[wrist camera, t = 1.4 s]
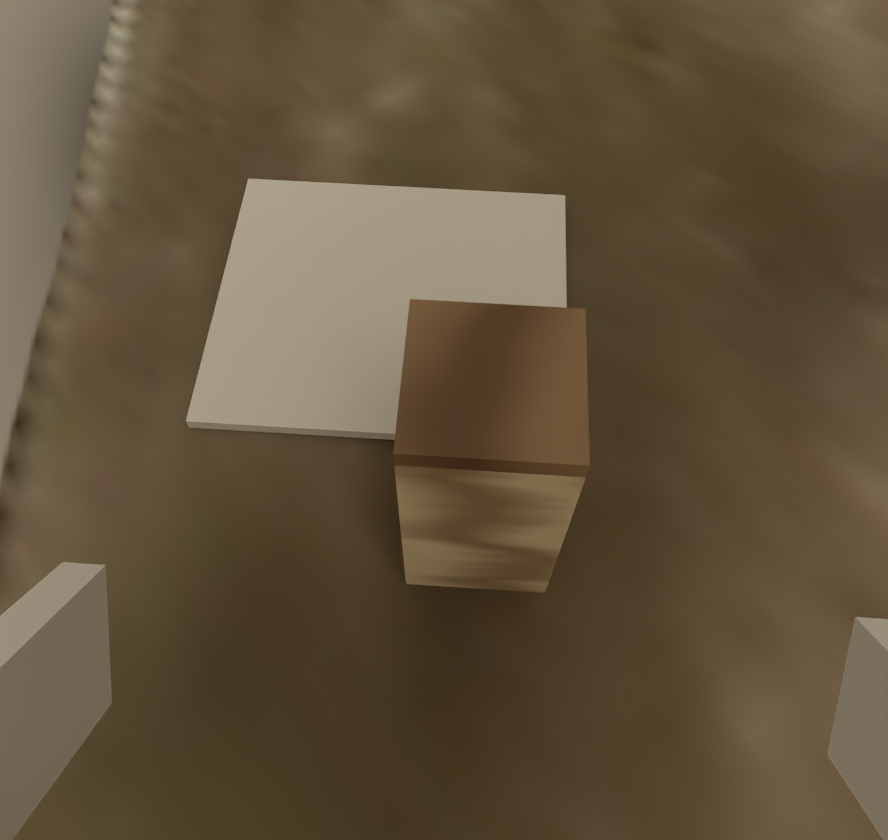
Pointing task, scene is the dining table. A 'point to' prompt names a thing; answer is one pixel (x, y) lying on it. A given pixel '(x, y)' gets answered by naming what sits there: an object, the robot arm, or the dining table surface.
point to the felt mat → (357, 295)
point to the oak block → (490, 441)
